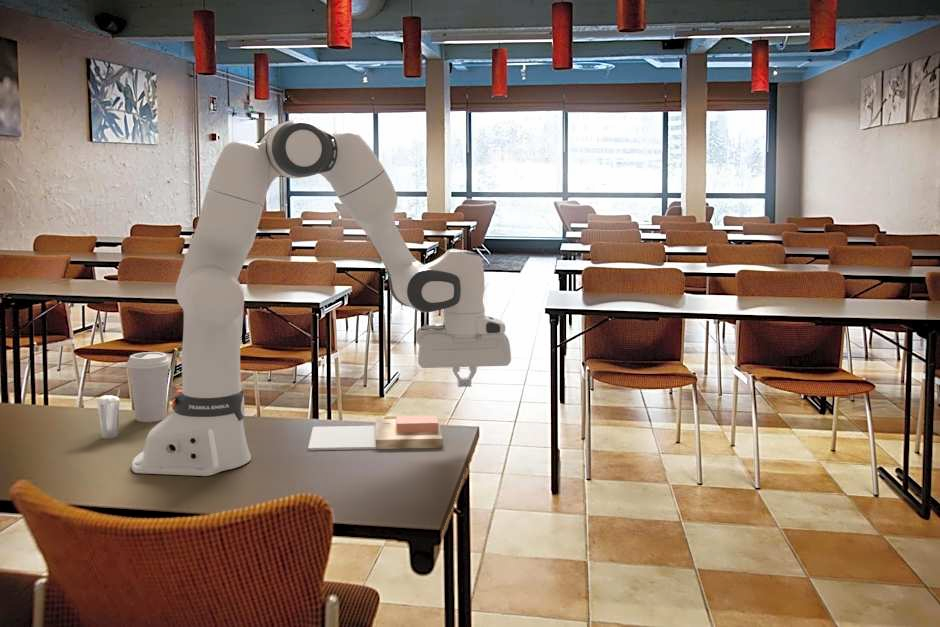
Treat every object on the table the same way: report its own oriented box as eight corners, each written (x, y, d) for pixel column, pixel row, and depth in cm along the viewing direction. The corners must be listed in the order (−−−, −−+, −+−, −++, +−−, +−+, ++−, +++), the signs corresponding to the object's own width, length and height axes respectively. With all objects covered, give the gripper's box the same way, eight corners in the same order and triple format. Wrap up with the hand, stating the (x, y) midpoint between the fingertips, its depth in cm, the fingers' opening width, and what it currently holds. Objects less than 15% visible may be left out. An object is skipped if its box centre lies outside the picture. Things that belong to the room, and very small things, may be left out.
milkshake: (128, 435, 198) (126, 390, 197) (107, 440, 194) (105, 395, 192) (115, 431, 201) (113, 387, 199) (94, 437, 196) (91, 392, 195)
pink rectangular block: (396, 432, 195) (396, 423, 195) (396, 425, 201) (396, 416, 201) (438, 431, 196) (438, 422, 196) (436, 424, 202) (436, 415, 202)
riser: (375, 449, 190) (375, 439, 190) (375, 427, 206) (375, 419, 206) (442, 447, 192) (442, 438, 192) (437, 426, 208) (437, 418, 207)
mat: (308, 450, 189) (308, 448, 189) (313, 428, 205) (313, 426, 205) (375, 449, 190) (375, 446, 190) (375, 427, 206) (375, 425, 206)
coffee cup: (149, 411, 218) (146, 349, 215) (181, 415, 214) (178, 353, 212) (119, 421, 209) (116, 357, 207) (152, 426, 205) (150, 361, 203)
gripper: (416, 327, 192) (417, 391, 195) (512, 325, 194) (512, 388, 197) (415, 322, 199) (416, 384, 201) (508, 320, 201) (507, 381, 203)
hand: (464, 386), depth 199 cm, fingers closed
